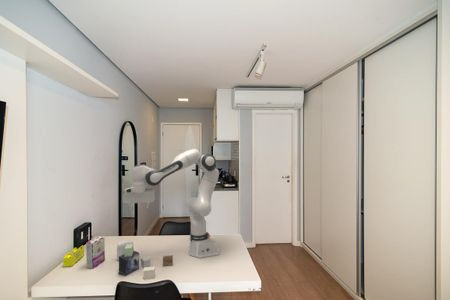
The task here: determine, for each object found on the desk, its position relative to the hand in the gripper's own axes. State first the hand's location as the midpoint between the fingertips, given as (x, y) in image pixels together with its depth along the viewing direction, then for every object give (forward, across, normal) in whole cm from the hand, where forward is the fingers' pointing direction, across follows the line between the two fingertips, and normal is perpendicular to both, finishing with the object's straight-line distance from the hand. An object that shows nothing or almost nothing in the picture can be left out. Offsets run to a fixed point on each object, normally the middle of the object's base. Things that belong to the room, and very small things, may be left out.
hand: (139, 209), depth 158 cm
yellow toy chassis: (+34, +43, -7) cm, 55 cm away
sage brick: (+24, +4, +14) cm, 28 cm away
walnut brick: (+35, -19, +10) cm, 41 cm away
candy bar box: (+34, +27, 0) cm, 44 cm away
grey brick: (+35, -5, +9) cm, 36 cm away
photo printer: (+35, +10, -4) cm, 36 cm away
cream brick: (+35, -9, +23) cm, 42 cm away
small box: (+35, +4, +14) cm, 37 cm away
